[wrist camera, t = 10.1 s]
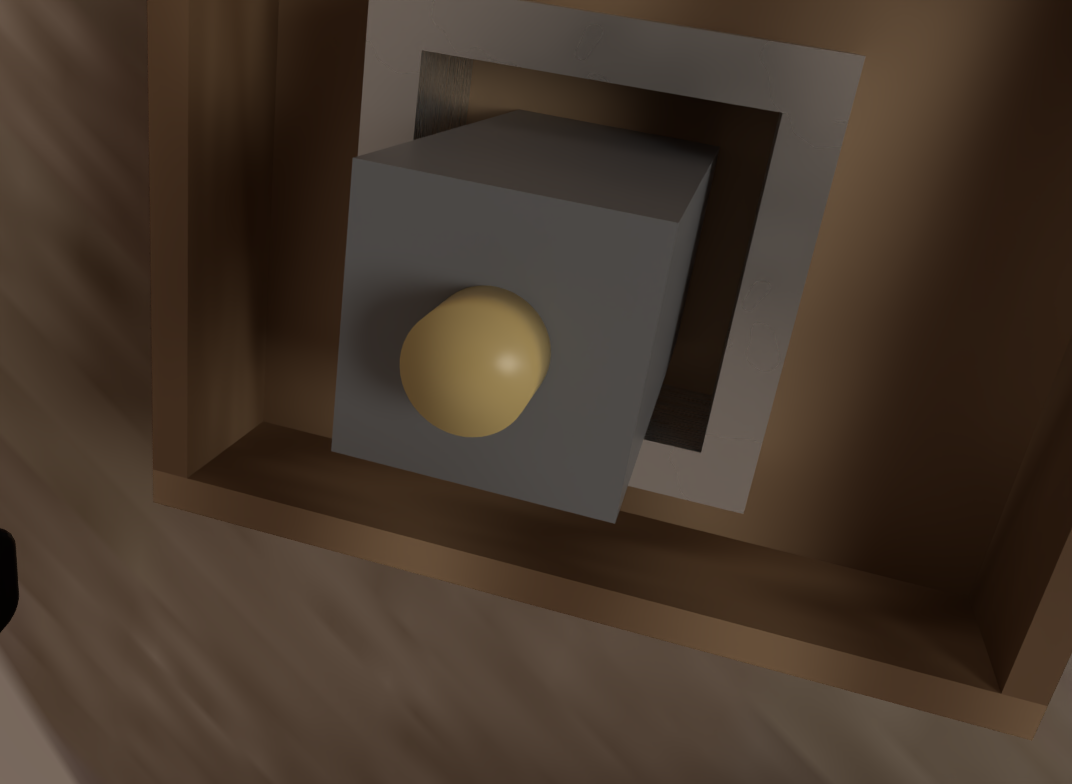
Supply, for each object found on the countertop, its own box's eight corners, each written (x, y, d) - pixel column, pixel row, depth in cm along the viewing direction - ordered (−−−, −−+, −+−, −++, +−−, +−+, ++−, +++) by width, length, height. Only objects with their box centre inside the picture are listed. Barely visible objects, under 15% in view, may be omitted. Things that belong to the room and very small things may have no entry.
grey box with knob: (720, 146, 18) (669, 240, 10) (676, 341, 20) (601, 562, 11) (519, 109, 19) (315, 167, 10) (493, 301, 20) (297, 482, 12)
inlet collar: (851, 52, 17) (865, 55, 14) (748, 448, 20) (743, 514, 17) (432, -15, 18) (370, -24, 15) (395, 366, 21) (339, 415, 19)
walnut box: (1269, -81, 15) (1419, -116, 12) (988, 617, 21) (1032, 740, 17) (268, -210, 18) (144, -269, 15) (249, 430, 24) (153, 501, 20)
